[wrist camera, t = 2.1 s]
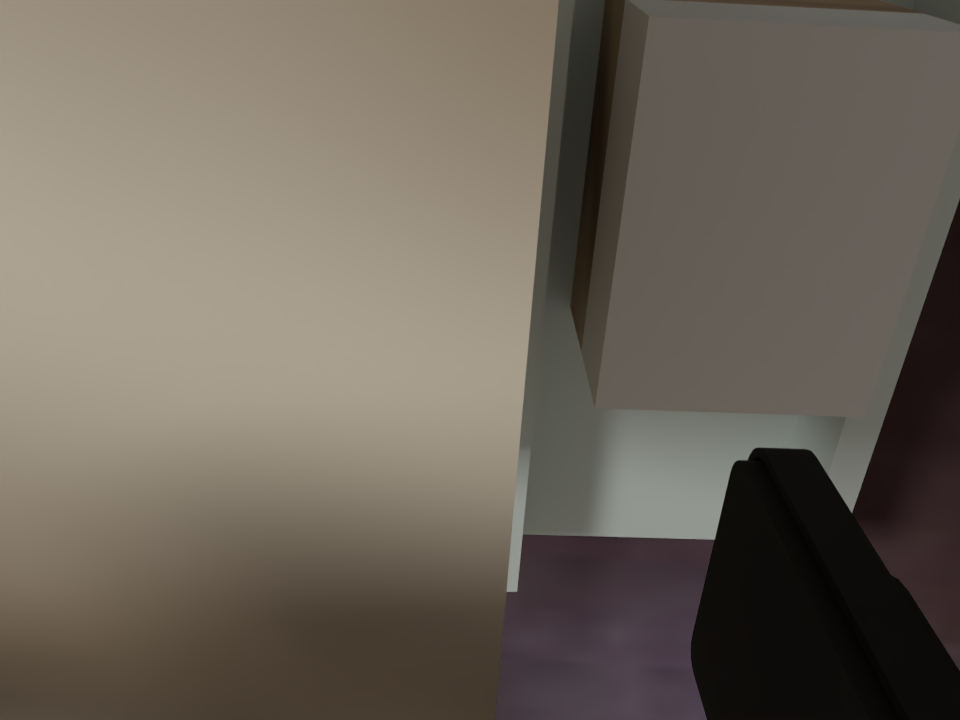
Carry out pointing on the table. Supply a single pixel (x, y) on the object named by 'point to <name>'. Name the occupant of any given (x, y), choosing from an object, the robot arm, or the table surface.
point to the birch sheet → (263, 352)
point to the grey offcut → (764, 203)
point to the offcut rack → (651, 433)
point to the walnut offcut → (601, 123)
